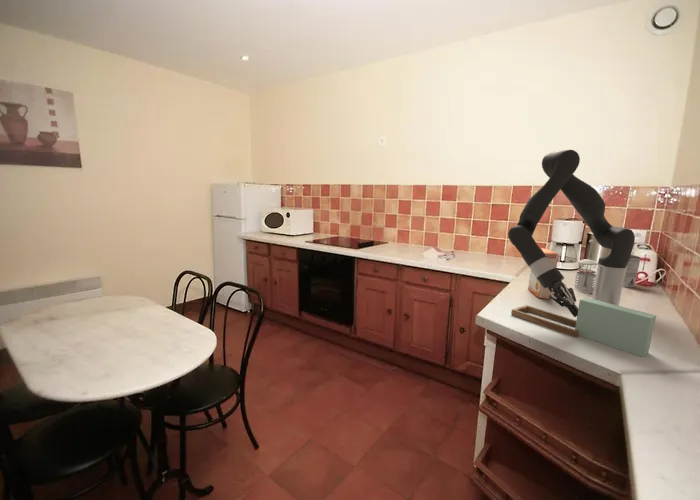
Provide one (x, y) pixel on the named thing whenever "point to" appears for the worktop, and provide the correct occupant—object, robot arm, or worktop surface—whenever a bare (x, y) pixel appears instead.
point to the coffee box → (631, 271)
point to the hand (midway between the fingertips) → (578, 315)
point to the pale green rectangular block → (615, 325)
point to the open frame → (546, 323)
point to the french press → (585, 276)
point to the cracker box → (534, 283)
